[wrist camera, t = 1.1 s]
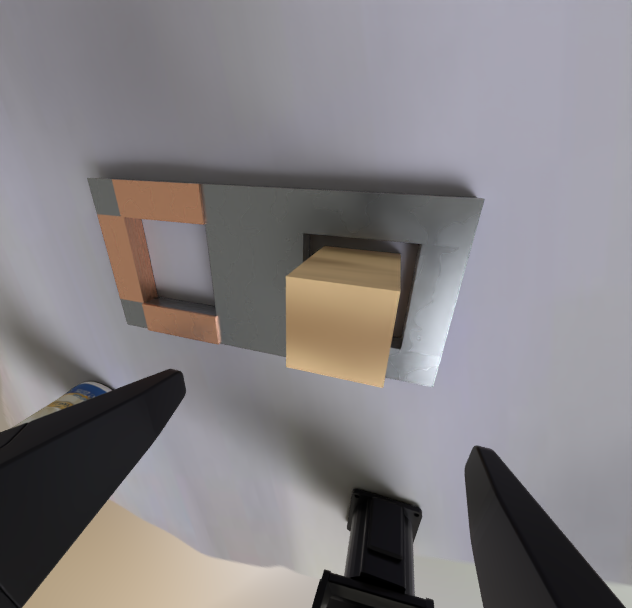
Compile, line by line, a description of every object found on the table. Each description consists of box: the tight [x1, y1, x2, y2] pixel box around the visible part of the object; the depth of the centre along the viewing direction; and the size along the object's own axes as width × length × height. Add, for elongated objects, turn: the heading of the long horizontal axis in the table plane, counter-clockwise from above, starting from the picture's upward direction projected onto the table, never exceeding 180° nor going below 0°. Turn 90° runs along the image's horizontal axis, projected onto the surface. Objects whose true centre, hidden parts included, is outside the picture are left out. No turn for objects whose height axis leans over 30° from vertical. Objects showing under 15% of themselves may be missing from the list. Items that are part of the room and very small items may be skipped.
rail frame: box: [87, 178, 484, 387], centre depth 20 cm, size 12×26×2 cm, turn 87°
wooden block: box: [286, 246, 401, 388], centre depth 16 cm, size 5×5×7 cm
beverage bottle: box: [10, 382, 112, 429], centre depth 25 cm, size 8×8×20 cm
